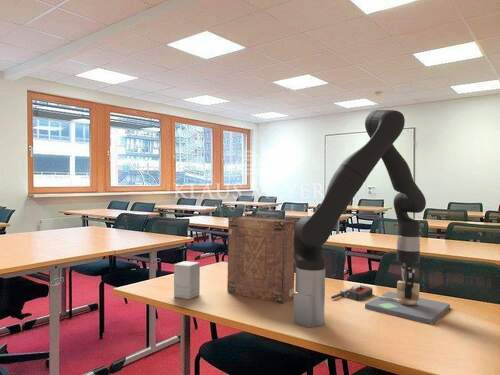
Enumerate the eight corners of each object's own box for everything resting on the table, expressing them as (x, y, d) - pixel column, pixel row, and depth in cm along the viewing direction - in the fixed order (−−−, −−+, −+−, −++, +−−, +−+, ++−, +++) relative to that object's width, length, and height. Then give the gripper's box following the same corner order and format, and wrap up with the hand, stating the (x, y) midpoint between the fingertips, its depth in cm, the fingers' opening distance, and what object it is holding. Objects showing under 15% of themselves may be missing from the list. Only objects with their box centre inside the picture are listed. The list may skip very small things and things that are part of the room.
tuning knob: (420, 302, 134) (420, 282, 134) (416, 306, 129) (417, 286, 129) (381, 295, 141) (381, 277, 141) (376, 299, 136) (377, 280, 136)
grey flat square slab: (431, 324, 118) (431, 319, 118) (364, 308, 132) (365, 303, 132) (449, 308, 134) (450, 303, 134) (389, 295, 149) (389, 291, 149)
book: (226, 292, 150) (227, 217, 149) (239, 286, 157) (241, 215, 157) (282, 303, 136) (284, 221, 135) (294, 297, 143) (295, 219, 143)
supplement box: (200, 294, 145) (200, 262, 145) (189, 299, 139) (189, 266, 138) (184, 292, 148) (184, 260, 148) (173, 297, 142) (173, 263, 142)
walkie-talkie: (354, 290, 156) (329, 300, 141) (355, 280, 156) (329, 289, 141) (374, 295, 150) (350, 306, 135) (375, 284, 150) (350, 294, 135)
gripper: (423, 252, 125) (422, 303, 125) (416, 246, 139) (415, 292, 139) (399, 251, 127) (398, 301, 127) (395, 244, 141) (394, 290, 141)
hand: (407, 296), depth 133 cm, fingers closed on tuning knob, 3 cm apart
